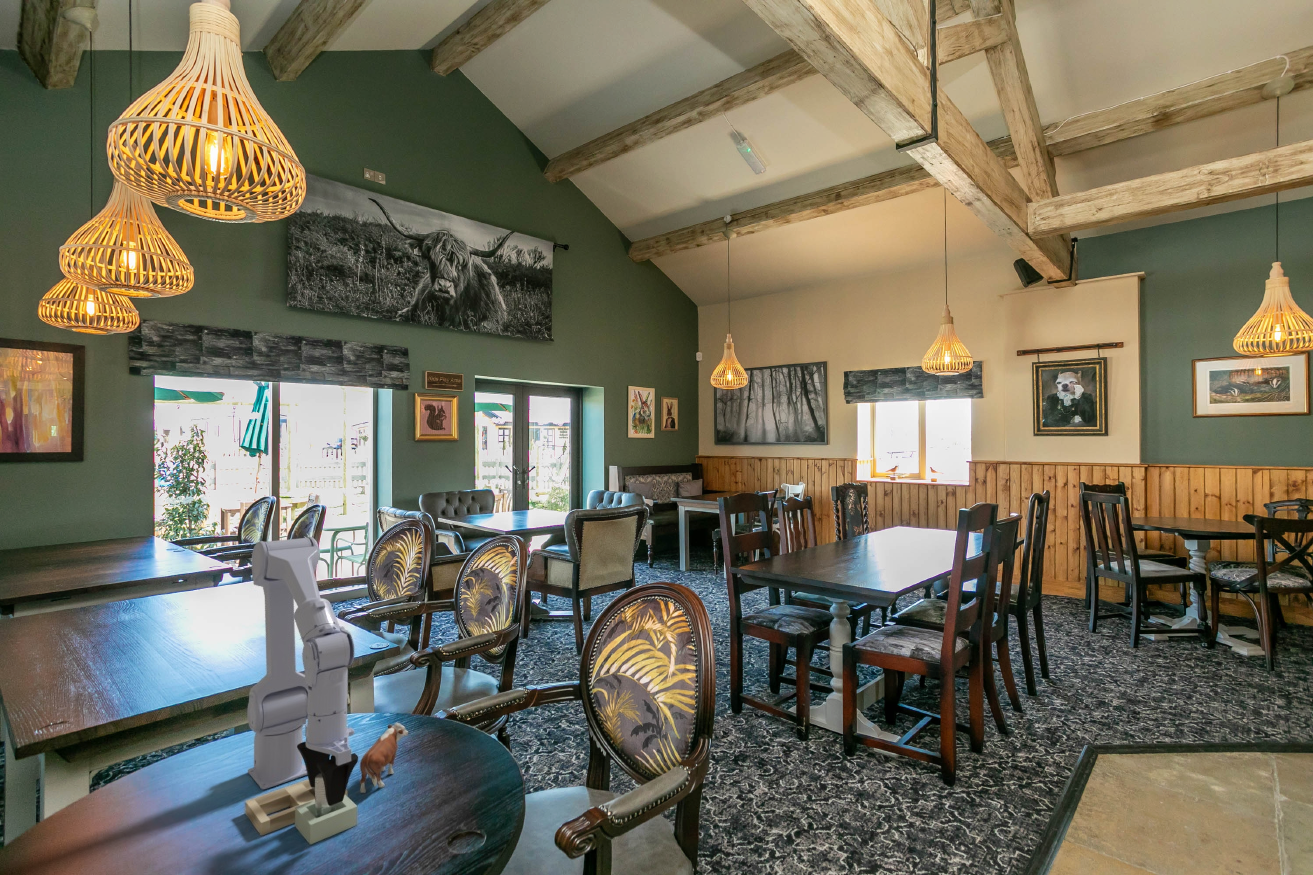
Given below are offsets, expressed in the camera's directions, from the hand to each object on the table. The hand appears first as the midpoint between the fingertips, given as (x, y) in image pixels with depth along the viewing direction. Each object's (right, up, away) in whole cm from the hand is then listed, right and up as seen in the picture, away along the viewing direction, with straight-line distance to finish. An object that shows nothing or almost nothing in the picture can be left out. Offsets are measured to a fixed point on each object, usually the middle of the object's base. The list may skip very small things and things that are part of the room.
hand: (326, 793), depth 102 cm
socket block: (-7, -5, +4) cm, 10 cm away
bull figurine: (+3, -6, +15) cm, 16 cm away
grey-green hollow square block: (0, -5, 0) cm, 5 cm away
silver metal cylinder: (0, -5, 0) cm, 5 cm away
